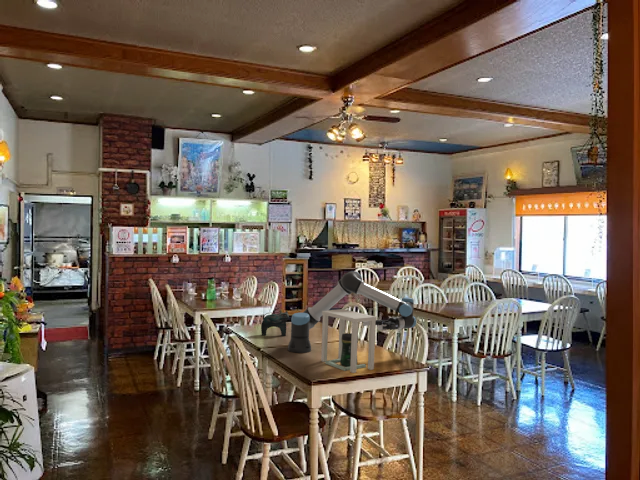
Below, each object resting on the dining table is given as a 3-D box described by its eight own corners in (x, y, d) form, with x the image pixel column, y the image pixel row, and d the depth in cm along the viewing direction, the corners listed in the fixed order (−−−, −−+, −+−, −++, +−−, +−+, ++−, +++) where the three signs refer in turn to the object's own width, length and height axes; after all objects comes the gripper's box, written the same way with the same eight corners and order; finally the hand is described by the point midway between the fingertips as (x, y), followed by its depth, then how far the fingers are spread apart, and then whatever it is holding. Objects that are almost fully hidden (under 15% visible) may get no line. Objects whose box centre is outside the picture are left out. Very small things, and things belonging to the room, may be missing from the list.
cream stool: (351, 373, 281) (353, 319, 280) (319, 361, 305) (320, 310, 304) (374, 369, 291) (376, 316, 290) (341, 357, 315) (343, 309, 315)
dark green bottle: (344, 367, 293) (345, 335, 292) (338, 364, 300) (339, 332, 300) (359, 366, 297) (360, 334, 296) (353, 362, 304) (354, 331, 304)
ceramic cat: (288, 335, 378) (289, 307, 377) (287, 336, 371) (288, 309, 371) (261, 334, 377) (262, 307, 377) (260, 336, 371) (261, 308, 370)
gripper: (409, 333, 312) (384, 335, 300) (382, 325, 333) (356, 328, 320) (410, 320, 312) (384, 323, 300) (382, 314, 332) (357, 316, 320)
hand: (370, 325), depth 310 cm, fingers open, 13 cm apart
